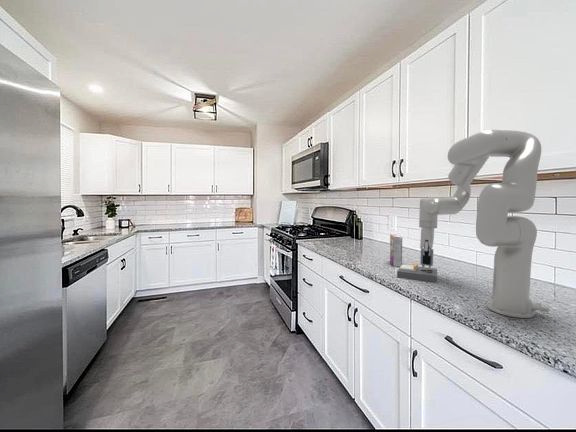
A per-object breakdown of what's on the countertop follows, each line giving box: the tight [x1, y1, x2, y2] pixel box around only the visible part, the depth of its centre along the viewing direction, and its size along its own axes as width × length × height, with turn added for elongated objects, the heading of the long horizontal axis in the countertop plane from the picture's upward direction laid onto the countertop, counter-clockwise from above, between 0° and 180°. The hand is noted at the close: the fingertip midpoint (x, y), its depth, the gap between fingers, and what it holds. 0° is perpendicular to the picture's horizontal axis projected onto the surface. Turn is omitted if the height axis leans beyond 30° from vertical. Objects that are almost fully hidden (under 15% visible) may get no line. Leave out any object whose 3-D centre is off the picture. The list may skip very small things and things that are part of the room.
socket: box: [396, 266, 438, 283], centre depth 132 cm, size 16×14×3 cm
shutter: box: [399, 262, 419, 271], centre depth 134 cm, size 7×8×2 cm
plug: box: [419, 247, 434, 269], centre depth 129 cm, size 5×4×8 cm
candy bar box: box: [389, 233, 403, 268], centre depth 153 cm, size 11×5×16 cm, turn 168°
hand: (426, 262), depth 129 cm, fingers closed on plug, 4 cm apart
